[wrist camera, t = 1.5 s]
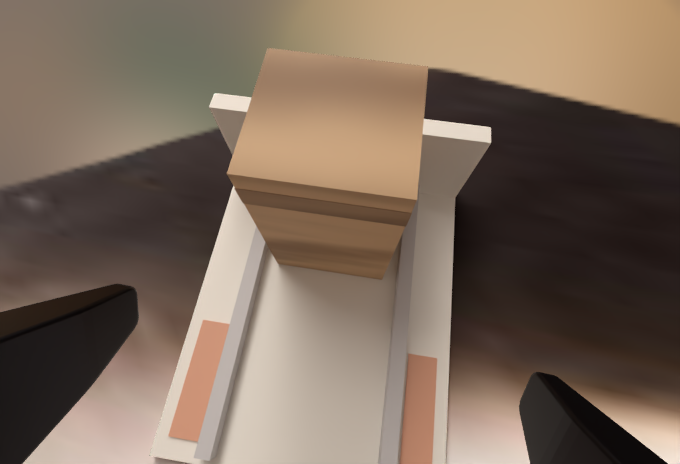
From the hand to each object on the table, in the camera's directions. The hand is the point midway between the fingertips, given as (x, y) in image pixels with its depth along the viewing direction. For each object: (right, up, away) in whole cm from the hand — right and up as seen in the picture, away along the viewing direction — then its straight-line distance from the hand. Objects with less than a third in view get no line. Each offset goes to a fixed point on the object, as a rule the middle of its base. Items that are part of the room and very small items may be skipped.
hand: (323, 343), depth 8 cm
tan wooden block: (0, +3, +15) cm, 15 cm away
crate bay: (-1, -2, +14) cm, 14 cm away
